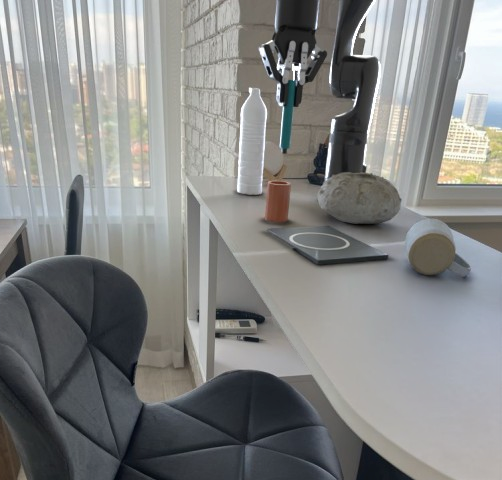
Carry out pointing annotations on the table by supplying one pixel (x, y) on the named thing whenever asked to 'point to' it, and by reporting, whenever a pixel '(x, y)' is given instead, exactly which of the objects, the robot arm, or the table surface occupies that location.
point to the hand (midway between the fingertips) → (288, 106)
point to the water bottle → (252, 144)
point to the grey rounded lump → (359, 198)
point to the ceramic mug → (433, 249)
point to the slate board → (327, 245)
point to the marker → (287, 118)
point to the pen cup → (277, 201)
